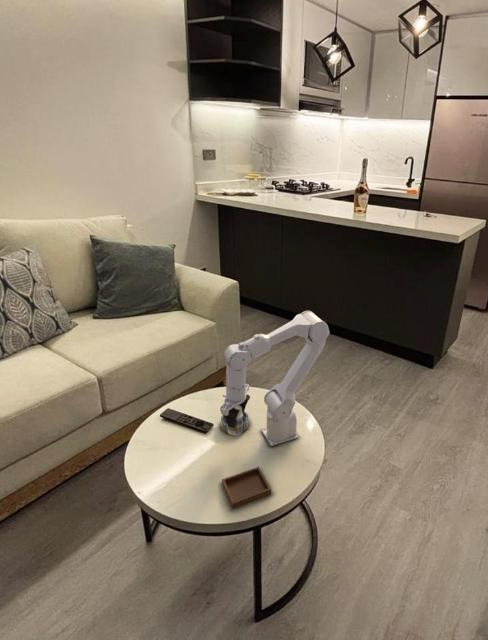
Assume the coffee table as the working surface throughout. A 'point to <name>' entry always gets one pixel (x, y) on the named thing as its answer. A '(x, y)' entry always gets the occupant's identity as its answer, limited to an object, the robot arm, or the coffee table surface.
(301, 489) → the coffee table surface
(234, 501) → the tray
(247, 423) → the bowl
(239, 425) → the pill bottle
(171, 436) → the coffee table surface
